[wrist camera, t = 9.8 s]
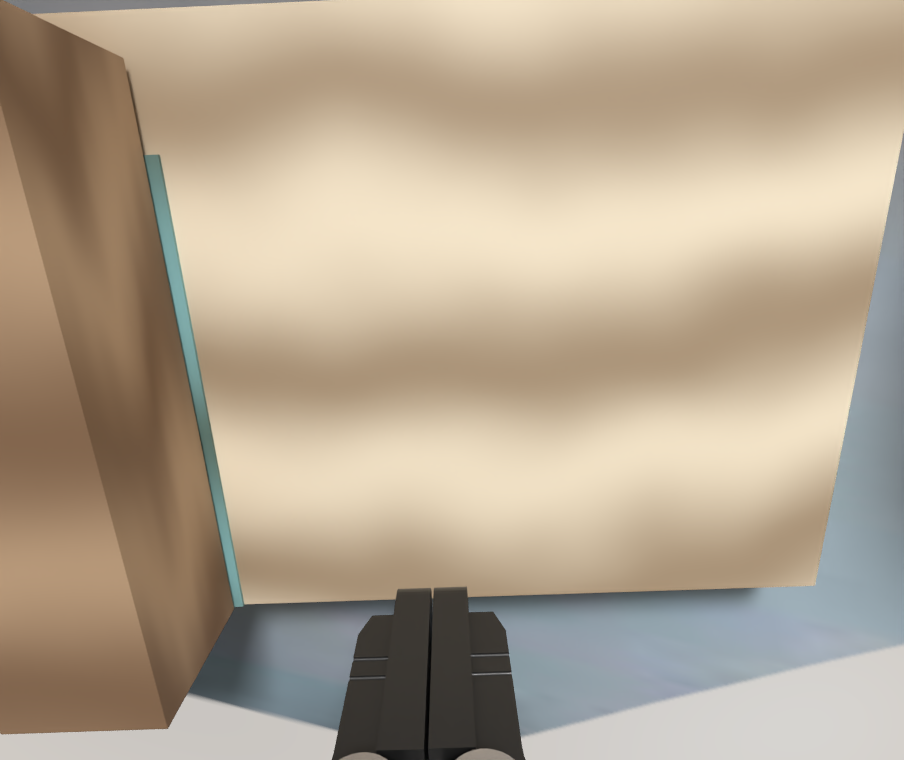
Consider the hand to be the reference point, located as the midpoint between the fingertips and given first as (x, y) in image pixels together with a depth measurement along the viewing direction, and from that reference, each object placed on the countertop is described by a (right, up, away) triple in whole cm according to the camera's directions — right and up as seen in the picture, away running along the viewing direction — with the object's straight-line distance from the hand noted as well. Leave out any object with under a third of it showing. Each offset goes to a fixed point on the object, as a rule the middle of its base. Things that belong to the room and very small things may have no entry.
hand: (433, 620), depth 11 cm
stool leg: (-9, +5, +3) cm, 10 cm away
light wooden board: (-1, +7, +5) cm, 9 cm away
